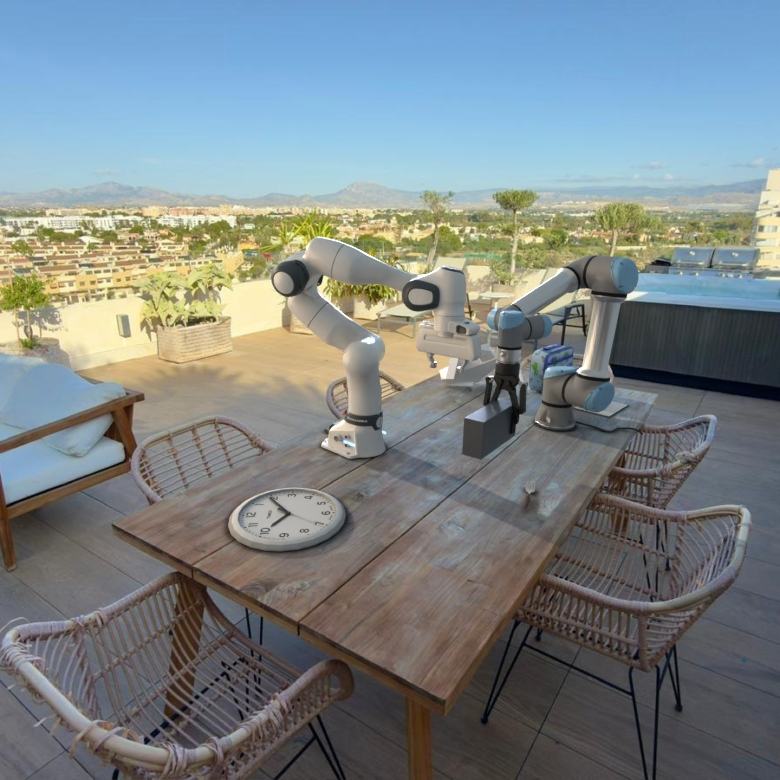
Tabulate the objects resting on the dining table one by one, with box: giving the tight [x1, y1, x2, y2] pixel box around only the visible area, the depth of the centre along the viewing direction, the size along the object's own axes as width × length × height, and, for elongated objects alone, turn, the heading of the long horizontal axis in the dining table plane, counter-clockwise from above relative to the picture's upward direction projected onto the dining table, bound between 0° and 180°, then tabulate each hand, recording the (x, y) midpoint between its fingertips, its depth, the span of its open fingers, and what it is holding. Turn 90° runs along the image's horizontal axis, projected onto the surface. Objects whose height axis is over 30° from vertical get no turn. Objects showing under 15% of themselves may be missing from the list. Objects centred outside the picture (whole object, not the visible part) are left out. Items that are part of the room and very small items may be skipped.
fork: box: [525, 478, 537, 511], centre depth 148 cm, size 3×16×2 cm, turn 160°
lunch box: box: [528, 344, 574, 393], centre depth 247 cm, size 26×11×21 cm, turn 134°
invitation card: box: [573, 400, 629, 418], centre depth 226 cm, size 21×1×15 cm
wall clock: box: [227, 487, 347, 552], centre depth 136 cm, size 30×2×30 cm
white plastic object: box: [438, 342, 531, 397], centre depth 245 cm, size 37×45×31 cm
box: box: [461, 397, 517, 461], centre depth 162 cm, size 24×6×12 cm, turn 143°
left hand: (446, 370), depth 155 cm, fingers open, 8 cm apart
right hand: (502, 430), depth 170 cm, fingers closed on box, 6 cm apart
